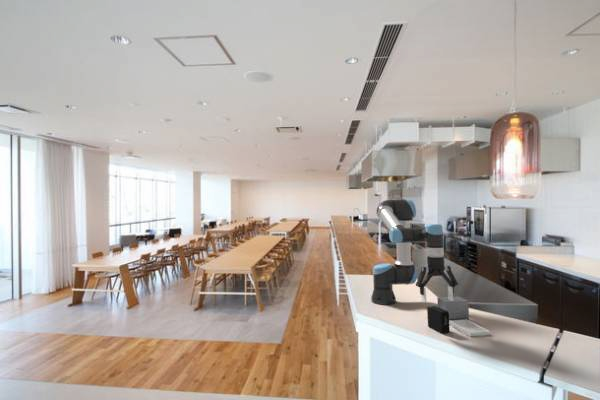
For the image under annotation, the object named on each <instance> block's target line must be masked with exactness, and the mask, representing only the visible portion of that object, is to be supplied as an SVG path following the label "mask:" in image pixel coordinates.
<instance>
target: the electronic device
mask: <svg viewBox="0 0 600 400" xmlns="http://www.w3.org/2000/svg"><path fill="white" fill-rule="evenodd" d="M426 308H427V309H426V310H427V311H426V312H427V327H428V328H429V329H431V330H433V331H435V332H437V333H438V334H442V335H443V334H449V333H450V325H449V312H448V311H446V310H444V309H441V308H439V307H438V306H437V305H430V306H427V307H426Z"/></svg>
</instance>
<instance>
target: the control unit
mask: <svg viewBox="0 0 600 400" xmlns="http://www.w3.org/2000/svg"><path fill="white" fill-rule="evenodd" d="M437 307H439V308H441V309H444V310H446V311H448V312H449V321H450V320H465V319H467V320H469V321H471V322H473V320H472V319H470V311H469V310H470V308H469V300H468V299H466V298H464V297H461V296H459V295H458V296H453V301H451V300H449V299H448V296H443V297H439V296H438V297H437Z"/></svg>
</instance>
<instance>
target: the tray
mask: <svg viewBox="0 0 600 400" xmlns="http://www.w3.org/2000/svg"><path fill="white" fill-rule="evenodd" d="M469 320H470V319H469ZM469 320H467V319H465V320H450V321H449V326H451V327H453V328H454V329H456V331H457V330H458V332H461V333H463V334H464V335H466V336H467V337H469V338H473V337H474V338H475V336H476V337H486V336H485V335H489V336H491V331H490V330H489V329H486V328H484V327H482V326H481V325H478V324H477V323H475V322H474V321H472V320H471V321H472V322H471V321H469Z"/></svg>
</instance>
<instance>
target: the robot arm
mask: <svg viewBox="0 0 600 400" xmlns="http://www.w3.org/2000/svg"><path fill="white" fill-rule="evenodd" d="M416 215H417V209H416V205H415V203H414V201H413V200H412V199H408V198H407V199H406V198H403V199H386V200H383V201H381V202H380V203H379V204H378V205H377V208H376V216H377V217H378V219H380V220H381V221H382V222H383V224H384V225H385V226H386V228H387V229H388V230H389V231H388V237H389V240H390V242H391V243H393V244H394V243H395V244H396V260H395V262H394V265H392V264H391V263H388V262H387V263H386V262H385V263H378V264H376V265H374V266H373V267H372V270H373V271H372V276H373V279H372V280H373V289H372V294H371V297H370V299H371V300H370V301H371V303H374V304H377V305H383V306H384V305H385V306H386V305H387V306H388V305H394V304H396V302H397V300H396V299H397V298H396V295H395V292H394V289H393V285H405V286H408V285H413V284H415V286H416V287H418V288H419V294H420V296H421V302H423V303H427V288H426V285H427V284H428V283H429V281H430V280H431V278H433V277H437V276H438V277H442V278H443V280H444V281H445V282H446V283H447V284H448V285H447V297H448V299H449V300H451V301H453V297H454V293H455V287H456V286H458V284H459V283H458V281H457V279H456V277H455V276H454V273H453V271H452V267H451V266H450V265H445V256H444V255H445V252H444V230H443V225H442V224H440V223H438V224H437V223H430V224H426V225H425V227H411V223H412V222H413V220H414V218H415V217H416ZM411 243H426V255H427V257H426V262H427V266H423V265H422V266H421V267H420V269H421V270H420V273H419V276H418V269H417V266H416V265H414V262H413V261H412V250H411V249H412V248H411V247H412V246H411V245H412V244H411ZM445 271H446V273H447V274H446V273H445Z"/></svg>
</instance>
